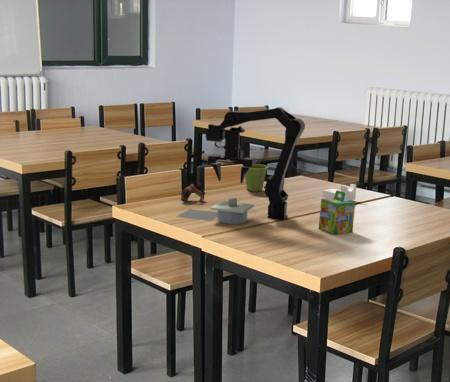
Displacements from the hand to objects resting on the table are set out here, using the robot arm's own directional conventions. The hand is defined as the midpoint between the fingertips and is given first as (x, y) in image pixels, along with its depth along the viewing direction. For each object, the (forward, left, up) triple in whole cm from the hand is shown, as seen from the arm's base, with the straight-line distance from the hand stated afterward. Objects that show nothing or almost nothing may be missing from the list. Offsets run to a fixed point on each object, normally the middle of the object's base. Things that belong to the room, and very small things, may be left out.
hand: (230, 182), depth 282 cm
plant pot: (+4, -46, -12) cm, 48 cm away
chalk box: (-45, +10, -12) cm, 48 cm away
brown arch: (+21, -10, -12) cm, 26 cm away
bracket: (-35, -46, -12) cm, 59 cm away
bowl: (-6, +14, -12) cm, 19 cm away
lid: (-6, +14, -7) cm, 17 cm away
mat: (+8, +12, -12) cm, 19 cm away
